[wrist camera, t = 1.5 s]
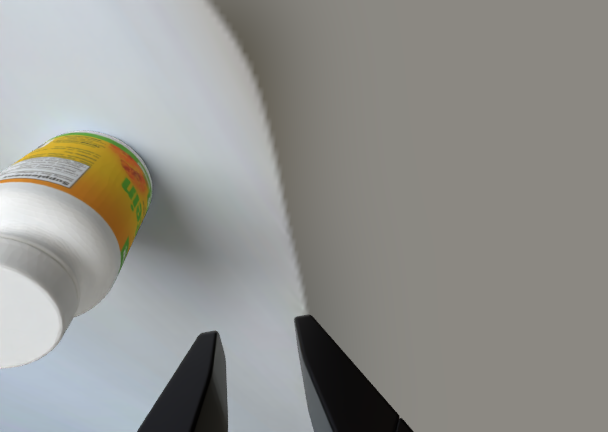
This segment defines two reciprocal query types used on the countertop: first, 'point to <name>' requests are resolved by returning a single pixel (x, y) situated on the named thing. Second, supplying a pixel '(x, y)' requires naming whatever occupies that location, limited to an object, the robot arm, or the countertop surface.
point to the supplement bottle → (64, 236)
